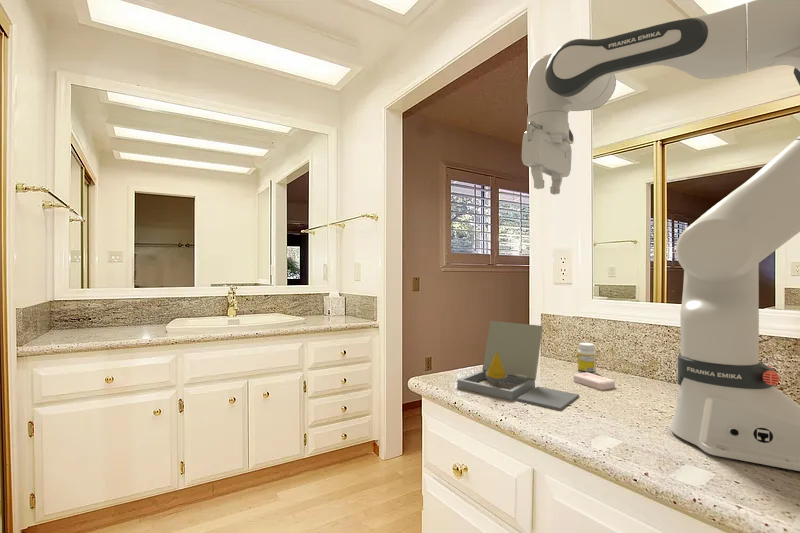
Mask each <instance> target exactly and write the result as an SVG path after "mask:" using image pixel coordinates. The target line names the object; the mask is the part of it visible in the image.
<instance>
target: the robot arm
mask: <svg viewBox="0 0 800 533" xmlns="http://www.w3.org/2000/svg"><path fill="white" fill-rule="evenodd" d="M651 66H664V67H669V68H673V69H676V70H679V71H681V72H684V73H685V74H688V75H689V76H692V77H694V78H696V79H699V80H711V79H713V80H714V79H721V78H728V77H733V76H738V75H743V74H746V73H750V72H754V71H759V70H762V69H766V68H769V67H770V68H771V67H776V66H790V67H793V68H794V69H793V75H794V76H795V79H796V82H797V83H798V85H799V86H800V0H752V1H749V2H747V3H746V2H745V3H742V4H740V5H735V6H733V7H729V8H727V9H722V10H720V11H716V12H713V13H708V14H706V15H701V16H695V17H694V16H693V17H689V18H684V19H683V18H682V19H678V20H672V21H667V22H664V23H663V22H662V23H660V24H655V25H652V26H648V27H645V28H640V29H636V30H632V31H629V32H626V33H621V34H617V35H614V36H610V37H605V38H600V39H590V38H576V39H572V40H569V41H567V42H565V43H563V44H562V45H561V46H559V47H558V48H557V49H556V51H554V52H553V53H549V54H547V55H544V56H542V57H540V58H539V59H537V60H536V61H534V62H533V63H532V65H531V68H530V70H529V73H528V78H527V87H526V88H527V90H526V102H527V107H528V114H527V117H526V118H527V119H526V122H527V123H526V125H527V126H526V131H525V132H524V133H523V136H522V143H521V162H522V163H523V165H524V166H526V167H528V168H530V169H531V170H530V173H531V175H532V180H533V187H534V189H537V190H541V189H544V188H545V180H544V177H543V174H545V175H547V176H550V177H551V182H552V183H551V186H550V188H549V190H550V194H551V195H560V193H561V186H562V182H563V178H567V177H569V176H570V174H571V170H572V155H573V154H572V145H574V141H575V139H574V135H573V132H572V130H571V129H570V123H569V112H581V111H592V110H596V109H598V108H600V107H602V106H603V105H605V104H606V103H607V102H608V101H609V100H610V98H611V97H612V96H613V94H614V92H615V89H616V85H617V80H616V76H615V74H619V73H623V72H627V71H632V70H637V69H642V68H645V67H646V68H647V67H651ZM799 233H800V135H798V136H797V137H796V138H795V139H794V140H792V142H790V143H789V144H787V146H786V147H785V148H784V149H783V148H782V150H781V151H780V152H779V153H778V154H777V155H776V156H774V157H773V158H772V159H771V160H769V162H767V163H766V164H765V165H764V166H763V167H761V168H760V169H759V170H758V171H757V172H755V174H753V175H752V176H751V177H750V178H749V179H748V180H746V181H745V182H744V183H742V184H741V185H740V186H738V187H737V188H735V189H734V190H733V191H731V192H730V193H729V194H727V196H725V197H724V198H722V199H721V200H720V201H718V202H717V203H715V205H713V206H712V207H711V208H709V209H708V210H706V212H704V213H703V214H701V215H700V217H698V218H697V219H696V220H695V221H694V222H692V223H691V224H689V225H688V227H686V228H685V229H684V230H683V231H682V232H681V234H680V235H679V237H678V239H677V242H676V244H675V245H676V246H675V253H676V254H675V255H676V256H675V257H676V258H677V261H678V263H679V265H680V266H681V268H682V269H683V285H682V286H683V287H682V297H681V307H680V353H678V355H677V360H676V380H677V384H678V393H677V394H678V395H677V401H676V406H675V409H674V410H675V411H674V414H673V417H672V421H671V423H670V424H669V428H670V430H671V432H672V433H673V434H674V435H676V436H677V437H679V438H681V439H683V440H684V441H686V442H689V443H691V444H693V445H695V446H697V447H698V448H700V449H701V450H702V451H703V452H705V453H706V454H709V455H712V456H716V457H722V458H727V459H732V460H739V461H744V462H749V463H754V464H761V465H765V466H770V467H776V468H781V469H787V470H790V471H791V470H793V471H798V472H800V404H799V403H797V402H796V401H795V400H793V399H792V398H791V397H789V396H788V395H786V394H785V393H783V392H782V391H781V390H780V389H778V388H776V387H775V386H776V385H777V384H778V383H780V376H779V373H778V372H776V371H775V369H774V368H772V366H770V365H768V366H767V364H765V363H763V362H760V351H759V350H760V341H759V340H760V337H759V336H760V330H759V329H760V326H759V325H760V323H759V322H760V320H759V319H760V317H759V316H760V314H759V313H760V310H759V307H760V306H759V305H760V304H759V303H760V302H759V301H760V300H759V299H760V298H759V296H760V294H759V292H760V290H759V289H760V286H759V283H760V282H759V280H760V276H759V274H760V273H759V272H760V270H759V268H760V264H759V263H761V262H762V261H764V259H766V258H767V257H768V256H770V255H772V254H773V253H774V252H775V251H777V250H778V249H779V248H780V247H782V246H783V245H785V244H786V243H787V242H788V241H790V240H791V239H792V238H794V237H795V236H796V235H798V234H799Z"/></svg>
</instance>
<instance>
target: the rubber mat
mask: <svg viewBox="0 0 800 533" xmlns="http://www.w3.org/2000/svg"><path fill="white" fill-rule="evenodd" d="M579 397H580V394H578V393H573V392H568V391H563V390H558V389H552V388H547V387H543V386H535V388H533V389H531V390H529V391H527V392H526V393H524V394H522V395H520V396H519V397H517V398H516V401H517V402H520V403H525V404H529V405H533V406H539V407H542V408H546V409H550V410H551V409H552V410H556V411H562V410H564V409H565V408H566V407H567V406H569V405H570V404H571V403H573V402H574V401H576V399H578V398H579Z"/></svg>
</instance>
